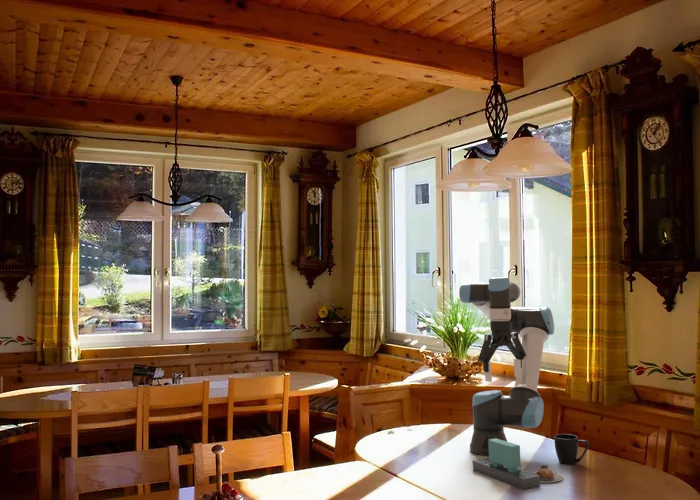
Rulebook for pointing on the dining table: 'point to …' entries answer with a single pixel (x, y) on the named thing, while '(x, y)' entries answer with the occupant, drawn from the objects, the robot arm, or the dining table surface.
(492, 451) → the clip
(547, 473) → the pastry
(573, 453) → the mug
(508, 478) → the rail
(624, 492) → the dining table surface
